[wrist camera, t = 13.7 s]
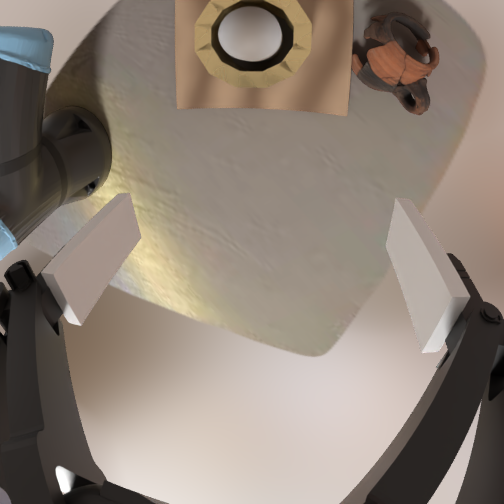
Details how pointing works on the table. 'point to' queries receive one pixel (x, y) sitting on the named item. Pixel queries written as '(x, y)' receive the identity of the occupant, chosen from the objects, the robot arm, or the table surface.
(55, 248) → the table surface
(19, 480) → the robot arm
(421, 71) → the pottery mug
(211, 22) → the brass ring
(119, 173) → the table surface
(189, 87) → the stand
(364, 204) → the table surface
